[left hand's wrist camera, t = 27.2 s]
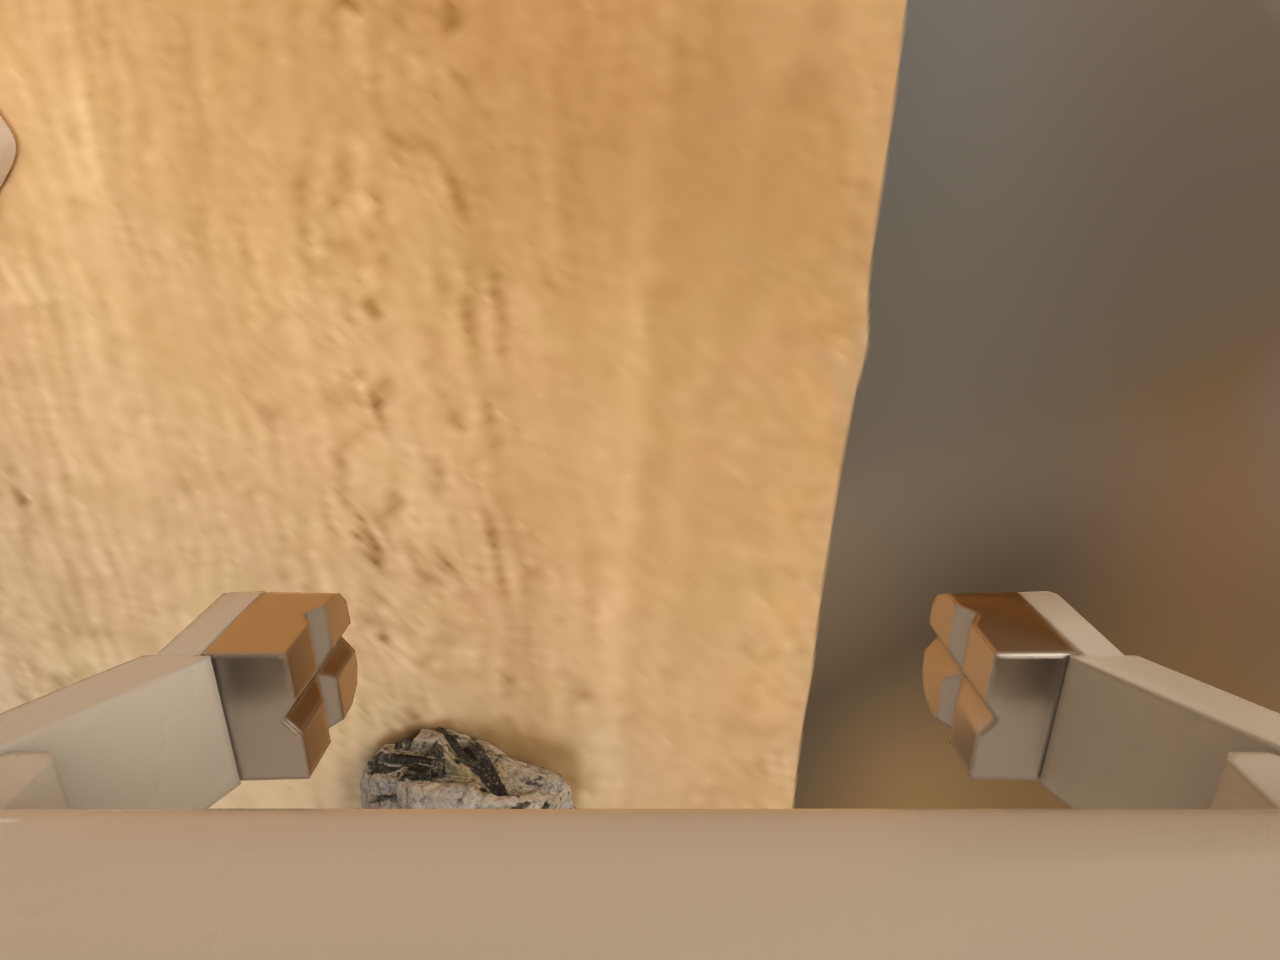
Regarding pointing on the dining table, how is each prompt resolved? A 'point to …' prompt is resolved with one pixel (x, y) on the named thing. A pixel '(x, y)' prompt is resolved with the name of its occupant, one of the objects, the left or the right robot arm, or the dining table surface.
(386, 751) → the rock
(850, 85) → the dining table surface
